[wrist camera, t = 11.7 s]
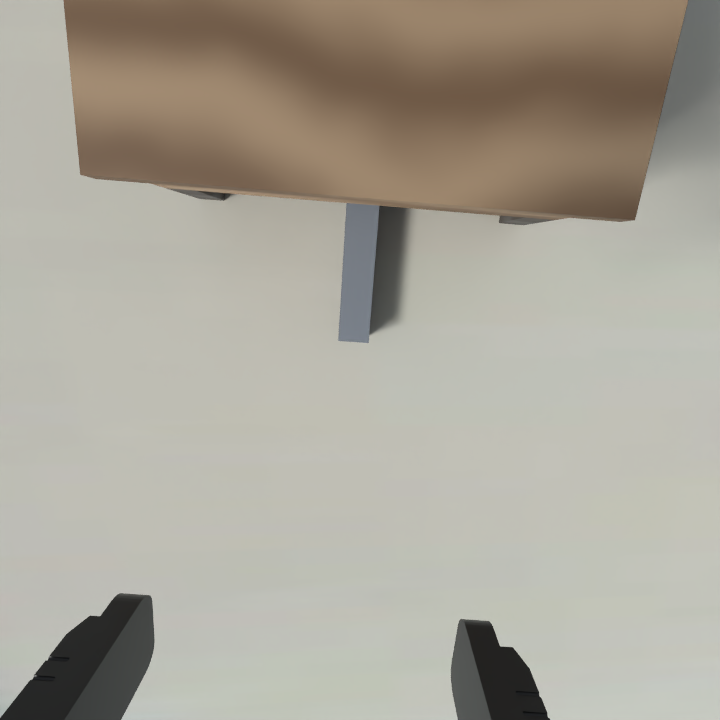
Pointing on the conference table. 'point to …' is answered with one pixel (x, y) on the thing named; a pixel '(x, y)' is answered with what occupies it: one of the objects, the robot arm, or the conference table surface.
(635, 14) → the cabinet
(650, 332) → the conference table surface
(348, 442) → the conference table surface
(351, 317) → the scraper
